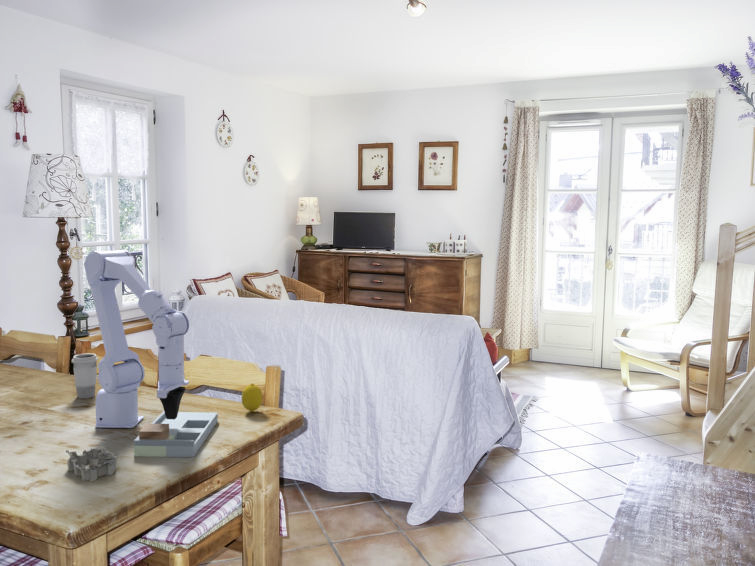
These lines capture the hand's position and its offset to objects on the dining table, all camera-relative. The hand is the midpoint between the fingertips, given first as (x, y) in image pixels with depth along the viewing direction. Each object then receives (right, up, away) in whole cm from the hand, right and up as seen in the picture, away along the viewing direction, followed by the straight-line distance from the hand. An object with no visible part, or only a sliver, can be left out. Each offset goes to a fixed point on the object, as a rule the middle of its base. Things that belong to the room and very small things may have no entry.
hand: (171, 418), depth 144 cm
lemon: (+15, -3, +20) cm, 25 cm away
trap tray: (+2, -5, 0) cm, 5 cm away
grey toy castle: (-10, -7, -19) cm, 23 cm away
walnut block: (-1, -3, -9) cm, 9 cm away
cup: (-35, -1, +30) cm, 46 cm away
